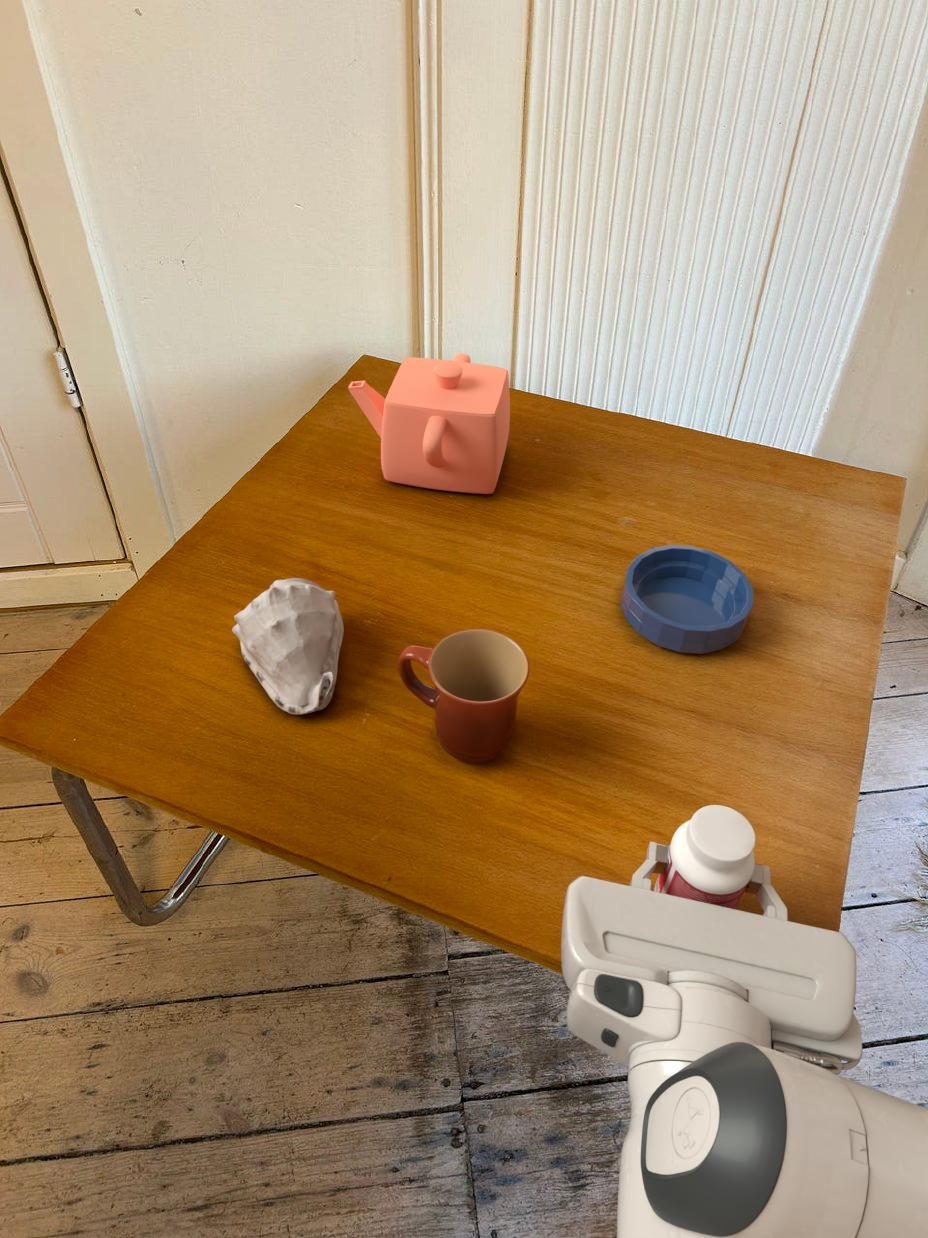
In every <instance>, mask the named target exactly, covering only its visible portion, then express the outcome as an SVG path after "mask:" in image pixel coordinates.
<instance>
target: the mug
mask: <svg viewBox="0 0 928 1238" xmlns="http://www.w3.org/2000/svg"><path fill="white" fill-rule="evenodd" d="M412 661H414V662H417V663H419V664H421V666H423V667H424V668H425V669H426V671H428V674H429V677H430V679H431V682H432V683H433V685H434V687H433V686H430V685H428V684H426V683H425V682H423V681H422V680H420V678H419V677H418V676H417V675H416V673H415V671H414V670H413V666H412ZM529 661H530V660H529V658H528V655H527V654H526V652H525V650H524V649H523V647H522V646H521V645H520V644H519V643H518V642H516V641H515V640H514V639H513V638H511V637H510V636H507V635H505V634H503V633H501V632H498V631H495V630H491V629H484V628H470V629H463V630H459V631H456V632H454V633H451V634H449V635H447V636H445V637H443V638H442V639H441V640H440V641H438V642H437V644H436V645H435V646H434V647H426V646H422V645H417V644H411V645H408V646H405V648H403V649H402V650H401V652H400V653H399V656H398V658H397V669H398V674H399V678H400V679H401V681H402V683H403V685H404V686H405V687H406V689H407V690H408V691H409V692H410V693H411V694H413V695H414V696H415V697H416V698H418V699H419V700H420V701H421V702H422V703H423V704H425V705H426V706H428V707H430V708H431V709H433V710H434V726H435V731H436V734H437V737H438V740H439V743H440V745H441V746H442V748H443V749H444V750H445V752H447V753H448V754H449V755H450V756H452V757H453V758H454V759H457V760H458V761H461V762H464V763H469V764H481V763H487V762H491V761H493V760H495V759H497V758H498V757H500V756H501V755H502V754H504V753H505V751H506V750H507V749H508V747H509V745H510V743H511V741H512V740H513V738H514V734H515V732H516V728H517V727H516V726H517V713H518V698H519V695H520V693H521V691H522V690H523V688H524V687H525V685H526V684H527V681H528V679H529V675H530V662H529Z"/></svg>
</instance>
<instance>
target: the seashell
mask: <svg viewBox="0 0 928 1238" xmlns="http://www.w3.org/2000/svg"><path fill="white" fill-rule="evenodd" d="M233 619H234V621H235V622H236V623H235V625H234V626H233V627H232V628H231V631H232V633H233V634H234V635H235V636H236V637H237V638H238V641H239V644H240V650H241V651H240V652H241V654H242V657H243V660H244V661H245V663H246V664H247V666H248V667H249V669H250V670H251V672H252V673H253V674H254V676H255V678H256V679H257V680H258V682H259V683H260V685H261V686H262V687H263V689H264V691H265V692H266V693H267V695H268V696H269V698H270V699H271V700H272V701H273V703H274V704H275V705H276V706H277V707H278V708H279V709H281V710H282V711H284V712H287V713H288V714H290V715H298V716H299V715H306V714H311V713H314V712H317V711H322V710H324V709H325V708H327V706H328V705H329V704H330V702H331V701H332V699H333V695H334V691H335V686H336V683H337V676H338V666H339V658H340V651H341V647H342V643H343V638H344V632H345V629H344V621H343V617H342V614H341V612H340V606H339V603H338V601H337V600H336V591H334V590H326V589H324V588H323V587H322V586H321V585H319V584H318V583H316V582H314V581H313V580H309V579H306V578H300V577H292V578H286V579H276V580H275V581H273V583H272V584H270V586H269V588H268V589H267V590H265V591H263V592H261V593H260V594H259V595H258V596H257V597H255V598H254V599H252V601H251V602H250V603H249V604H247V606H246V607H245V608H244V609H243V610H241V611H239V612H238V613H236V614H235V615H233Z"/></svg>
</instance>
